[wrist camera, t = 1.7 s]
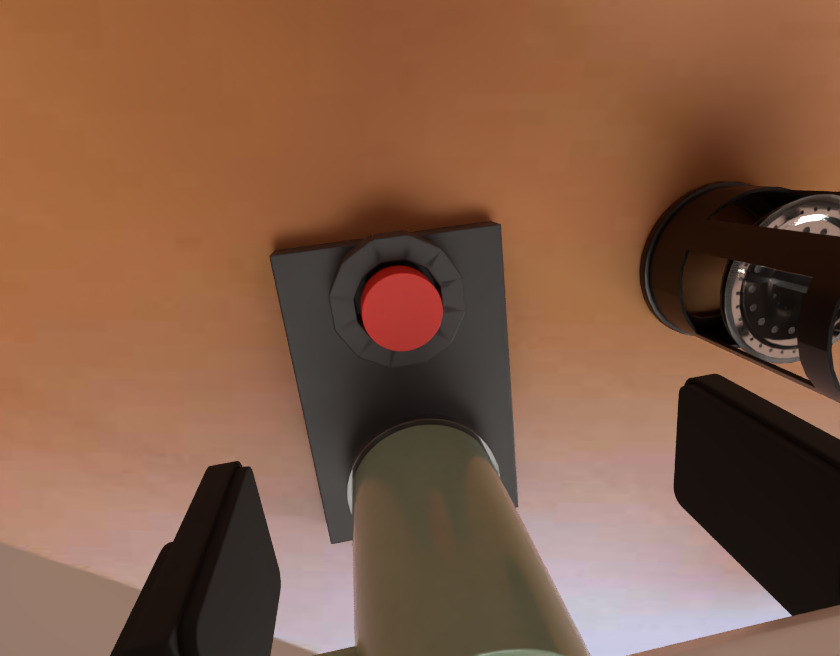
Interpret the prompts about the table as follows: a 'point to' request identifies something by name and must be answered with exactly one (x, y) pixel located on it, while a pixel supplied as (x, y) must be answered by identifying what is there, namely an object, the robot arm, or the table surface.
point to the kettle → (445, 551)
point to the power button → (400, 308)
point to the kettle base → (396, 370)
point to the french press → (756, 276)
